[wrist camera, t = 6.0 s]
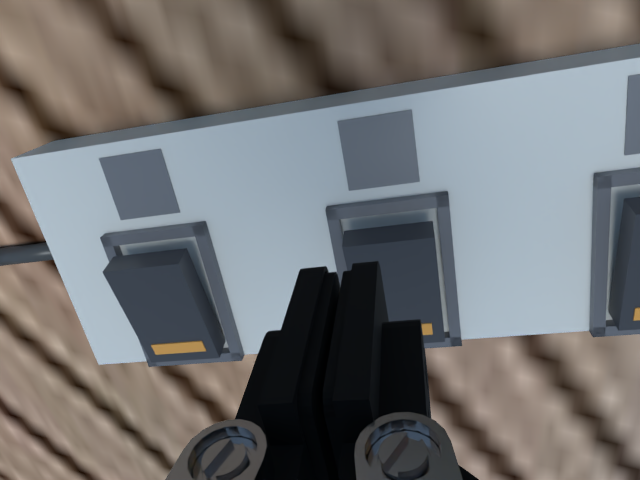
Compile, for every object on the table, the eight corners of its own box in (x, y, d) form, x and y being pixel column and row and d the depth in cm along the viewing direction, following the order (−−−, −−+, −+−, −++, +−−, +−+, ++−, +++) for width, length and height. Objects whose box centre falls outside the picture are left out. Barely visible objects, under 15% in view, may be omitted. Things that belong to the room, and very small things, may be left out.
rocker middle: (343, 230, 26) (342, 248, 25) (432, 220, 26) (434, 238, 24) (365, 329, 30) (364, 348, 29) (442, 323, 29) (445, 342, 28)
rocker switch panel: (-69, 161, 34) (-133, 183, 30) (799, 17, 25) (880, 21, 20) (18, 338, 40) (-26, 378, 36) (755, 277, 30) (812, 322, 26)
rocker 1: (113, 256, 29) (101, 273, 28) (186, 248, 28) (178, 264, 27) (159, 345, 33) (151, 363, 32) (225, 340, 32) (219, 358, 31)
